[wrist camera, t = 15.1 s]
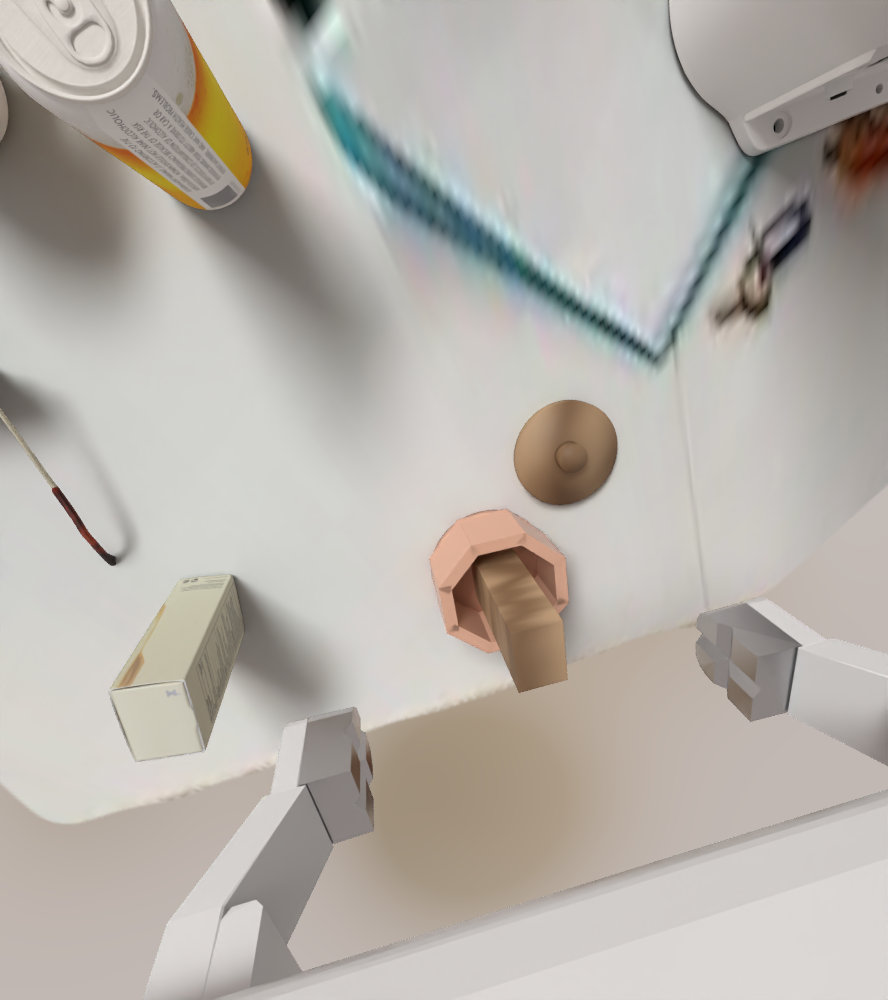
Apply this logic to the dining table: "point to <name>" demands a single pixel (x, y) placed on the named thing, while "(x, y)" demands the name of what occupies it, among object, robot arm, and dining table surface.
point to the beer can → (131, 90)
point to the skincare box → (180, 670)
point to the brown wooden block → (520, 620)
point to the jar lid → (565, 452)
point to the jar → (481, 538)
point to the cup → (3, 112)
